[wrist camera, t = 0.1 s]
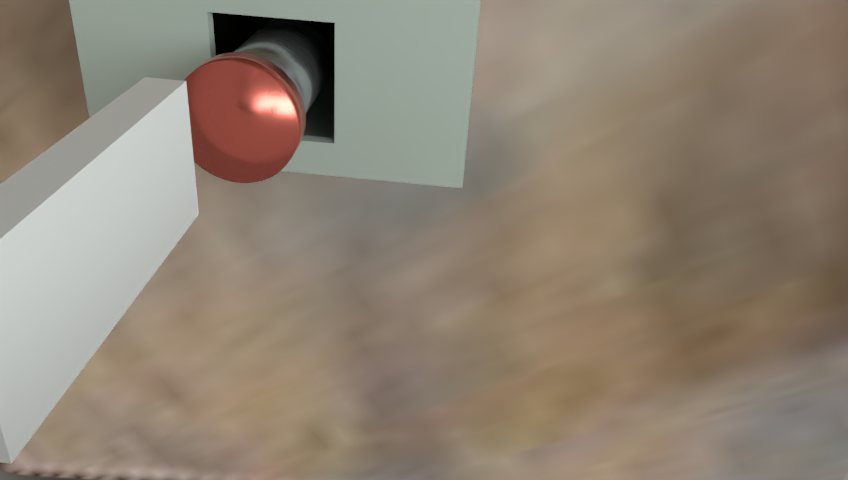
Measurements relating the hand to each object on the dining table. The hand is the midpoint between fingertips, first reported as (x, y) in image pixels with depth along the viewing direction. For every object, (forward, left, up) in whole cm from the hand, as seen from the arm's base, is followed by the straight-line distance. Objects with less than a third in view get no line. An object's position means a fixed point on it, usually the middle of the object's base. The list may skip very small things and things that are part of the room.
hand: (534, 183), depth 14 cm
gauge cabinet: (+4, -9, -28) cm, 30 cm away
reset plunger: (+4, -9, -19) cm, 21 cm away
